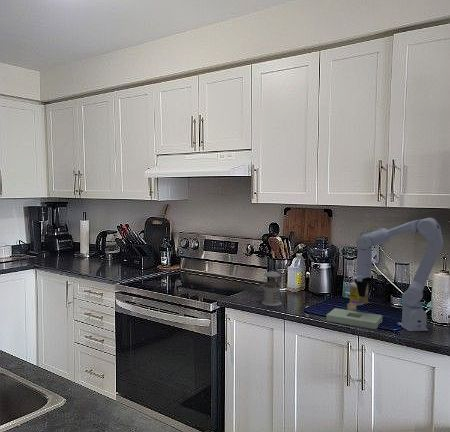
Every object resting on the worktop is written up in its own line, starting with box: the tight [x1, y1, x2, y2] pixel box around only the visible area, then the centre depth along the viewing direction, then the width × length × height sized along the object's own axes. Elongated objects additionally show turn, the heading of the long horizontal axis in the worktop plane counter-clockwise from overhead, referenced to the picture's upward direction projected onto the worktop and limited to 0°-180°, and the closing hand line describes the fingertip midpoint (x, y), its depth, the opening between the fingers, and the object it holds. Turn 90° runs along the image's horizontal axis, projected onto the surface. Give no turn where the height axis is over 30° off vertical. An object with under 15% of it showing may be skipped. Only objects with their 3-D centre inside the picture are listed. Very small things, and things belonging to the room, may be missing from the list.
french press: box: [261, 251, 282, 307], centre depth 206 cm, size 10×12×25 cm
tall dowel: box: [358, 285, 369, 304], centre depth 182 cm, size 4×4×8 cm
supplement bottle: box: [349, 275, 365, 306], centre depth 205 cm, size 7×7×13 cm
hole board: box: [325, 307, 384, 330], centre depth 178 cm, size 20×12×2 cm, turn 59°
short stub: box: [346, 302, 358, 311], centre depth 190 cm, size 4×4×4 cm
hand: (363, 295), depth 182 cm, fingers closed on tall dowel, 4 cm apart
